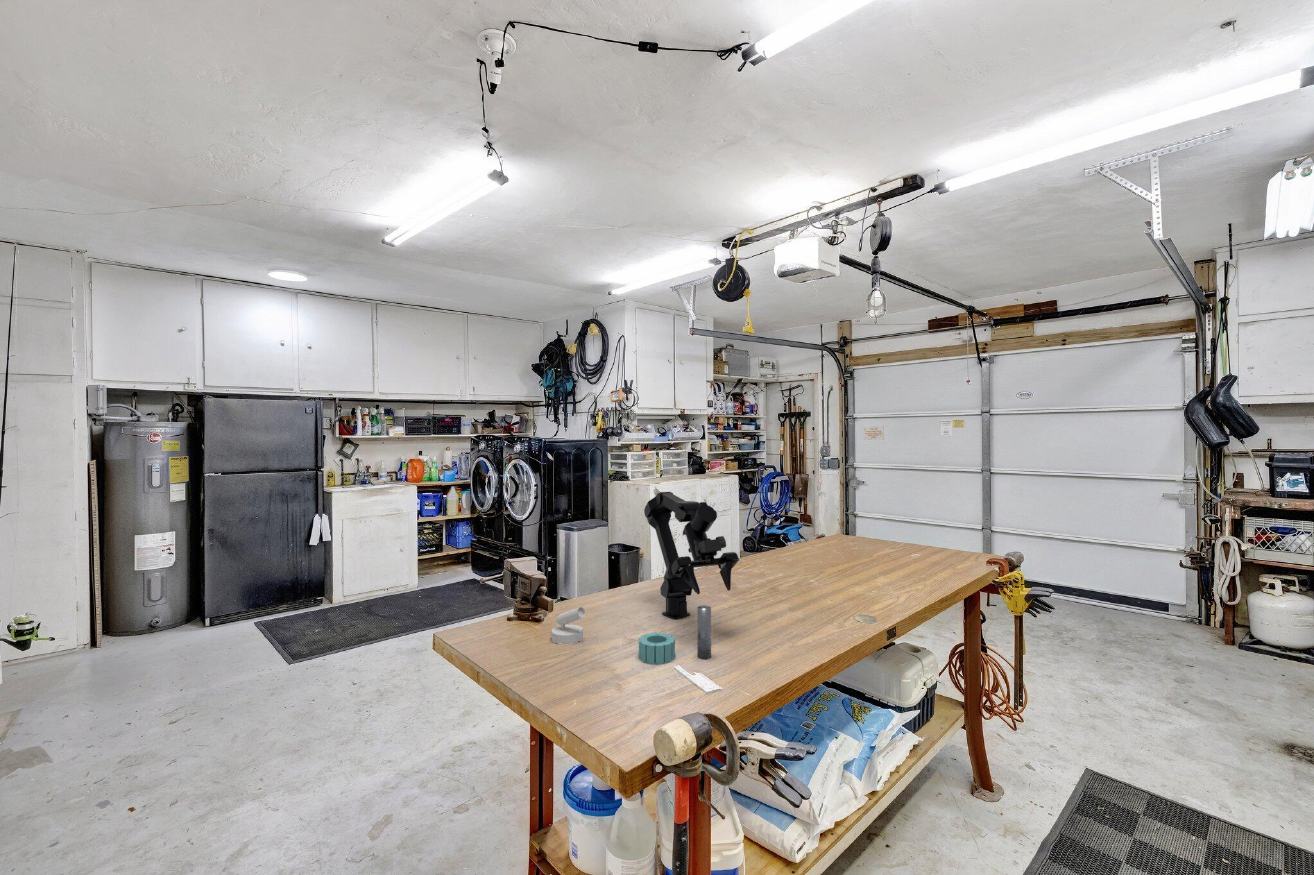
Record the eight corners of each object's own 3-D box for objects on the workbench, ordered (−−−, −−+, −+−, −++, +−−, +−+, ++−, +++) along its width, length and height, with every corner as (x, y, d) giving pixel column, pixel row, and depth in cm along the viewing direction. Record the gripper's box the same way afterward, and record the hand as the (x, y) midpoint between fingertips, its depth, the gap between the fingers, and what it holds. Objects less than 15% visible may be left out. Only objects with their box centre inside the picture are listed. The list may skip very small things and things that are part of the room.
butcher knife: (691, 665, 136) (691, 661, 136) (725, 691, 122) (725, 686, 122) (673, 669, 133) (673, 665, 133) (706, 696, 120) (706, 691, 120)
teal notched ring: (632, 655, 141) (631, 638, 141) (659, 647, 147) (659, 630, 147) (654, 667, 134) (654, 648, 134) (681, 657, 140) (681, 639, 140)
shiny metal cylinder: (694, 656, 141) (694, 607, 141) (704, 652, 143) (704, 604, 143) (704, 660, 138) (703, 610, 138) (714, 656, 140) (713, 607, 140)
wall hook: (573, 612, 147) (544, 606, 152) (573, 647, 147) (545, 640, 152) (592, 603, 154) (565, 598, 159) (593, 637, 154) (565, 631, 159)
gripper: (676, 528, 149) (692, 582, 140) (737, 524, 156) (756, 574, 146) (664, 548, 157) (679, 600, 148) (722, 543, 164) (740, 593, 154)
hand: (714, 591), depth 149 cm, fingers open, 9 cm apart
